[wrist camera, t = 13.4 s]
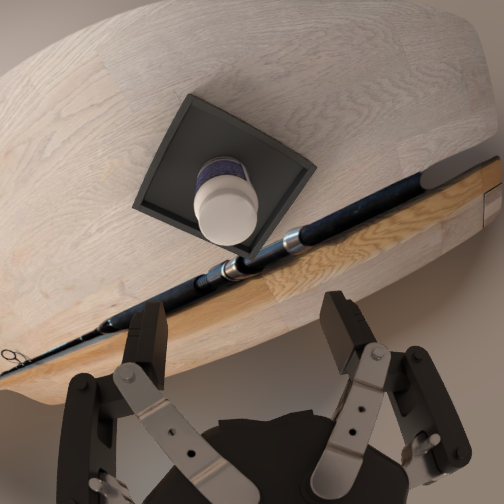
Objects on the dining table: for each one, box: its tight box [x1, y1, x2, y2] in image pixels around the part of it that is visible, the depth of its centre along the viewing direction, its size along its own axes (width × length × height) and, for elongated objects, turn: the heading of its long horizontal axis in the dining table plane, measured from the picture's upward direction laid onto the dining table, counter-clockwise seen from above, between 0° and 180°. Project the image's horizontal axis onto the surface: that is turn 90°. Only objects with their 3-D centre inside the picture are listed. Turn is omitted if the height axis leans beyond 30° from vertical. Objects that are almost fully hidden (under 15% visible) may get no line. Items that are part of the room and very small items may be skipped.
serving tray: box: [132, 94, 317, 261], centre depth 31 cm, size 16×14×2 cm
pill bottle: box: [194, 157, 258, 246], centre depth 27 cm, size 6×6×10 cm
